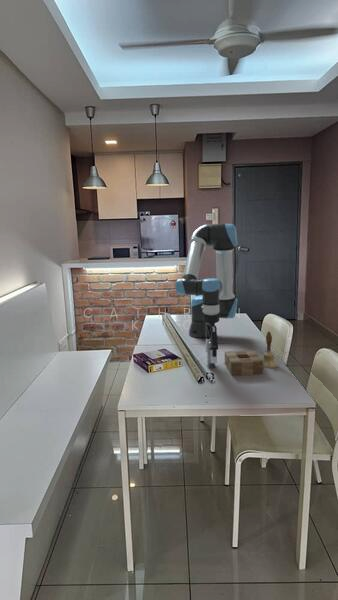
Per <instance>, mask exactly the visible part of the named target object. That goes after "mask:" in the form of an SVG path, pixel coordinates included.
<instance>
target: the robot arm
mask: <svg viewBox="0 0 338 600" xmlns="http://www.w3.org/2000/svg"><path fill="white" fill-rule="evenodd" d="M188 246H189V249H188V251H187V252H188V253H187V257H186V262H185V265H184V269H183V272H182V273H183V274H182V278H179V279H176V281H175V293H176V294H177V295H181V296H193V297H192V298H191V302H190V303H191V304H190V306H191V307H190V312H191V313H190V314H191V323H190V326H189V329H188V335H189V336H190V337H193V338H199V339H203V338H205V353H207V342H208V341H210V342H211V348H210V350H211V363H215V364H218V350H219V345H218V333H217V332H218V331H217V330H218V329H217V326H216V325H215V324H216V323H219V322H220V319H227V320H228V319H234V318H235V317H236V313H237V307H238V306H237V305H238V300H239V299H238V298H237V297H235V296H236V295H235V294H234V293H233V251H234V250H235V247H236V246H238V233H237V228H236V225H234V224H233V223H214V224H213V223H212V224H211V223H209V224H208V223H207V224H203V225H201V226H199V227H198V228H197V229H195V231H194V232H193V233H192V234H191V236H190V237H189V241H188ZM208 246H209V247H212V248H213V250H212V251H214V252H215V260H216V262H215V263H216V264H215V265H216V266H215V267H216V278H213V277H212V278H210V277H209V278H204V279H199V274H200V269H201V264H202V260H203V256H204V255H203V254H204V251H205V250H206V248H207V247H208Z"/></svg>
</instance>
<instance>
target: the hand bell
mask: <svg viewBox="0 0 338 600" xmlns="http://www.w3.org/2000/svg"><path fill="white" fill-rule="evenodd" d="M266 333H267V334H266V336H265V342H266V345H267V346H266V352H264V353H263V357H262V360H263V368H267V369H273V368H278V365H279V363H278V362H277V361H276V359H275V354H274V353H273V352H272V350H271V349H272V348H271V346H272V341H273V337H272V333H271V331H267V332H266Z"/></svg>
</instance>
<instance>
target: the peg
mask: <svg viewBox="0 0 338 600" xmlns="http://www.w3.org/2000/svg"><path fill="white" fill-rule="evenodd" d="M210 348H211V342H210V341H208V342H207V352H206V353H207V354H206V355H207V357H206V358H207V359H206V360H207V361H206V363H207V364H206V367H207V368H208V369H215V368H216V363H211V350H210Z"/></svg>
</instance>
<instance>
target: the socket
mask: <svg viewBox="0 0 338 600" xmlns="http://www.w3.org/2000/svg"><path fill="white" fill-rule="evenodd" d="M224 365H225V366H226V369H227V370H228V372H229V374H230V376H231V377H235V376H236V377H237V376H250V375H253V376H254V375H263V373H264V367H263V358H262V357H260V356H259V354H258V353H257V352H256V351H255V349H249V350H233V351H232V350H230V351H229V350H228V351H224Z"/></svg>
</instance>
